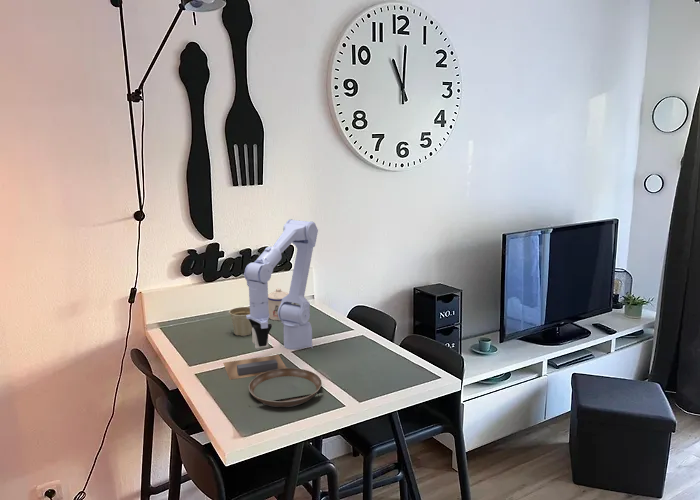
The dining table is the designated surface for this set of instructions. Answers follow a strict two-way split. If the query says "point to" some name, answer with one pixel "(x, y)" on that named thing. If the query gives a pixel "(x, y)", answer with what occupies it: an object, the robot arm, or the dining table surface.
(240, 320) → the flower pot
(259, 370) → the bar
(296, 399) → the plant saucer
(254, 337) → the pale grey block
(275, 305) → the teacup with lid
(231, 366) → the board
